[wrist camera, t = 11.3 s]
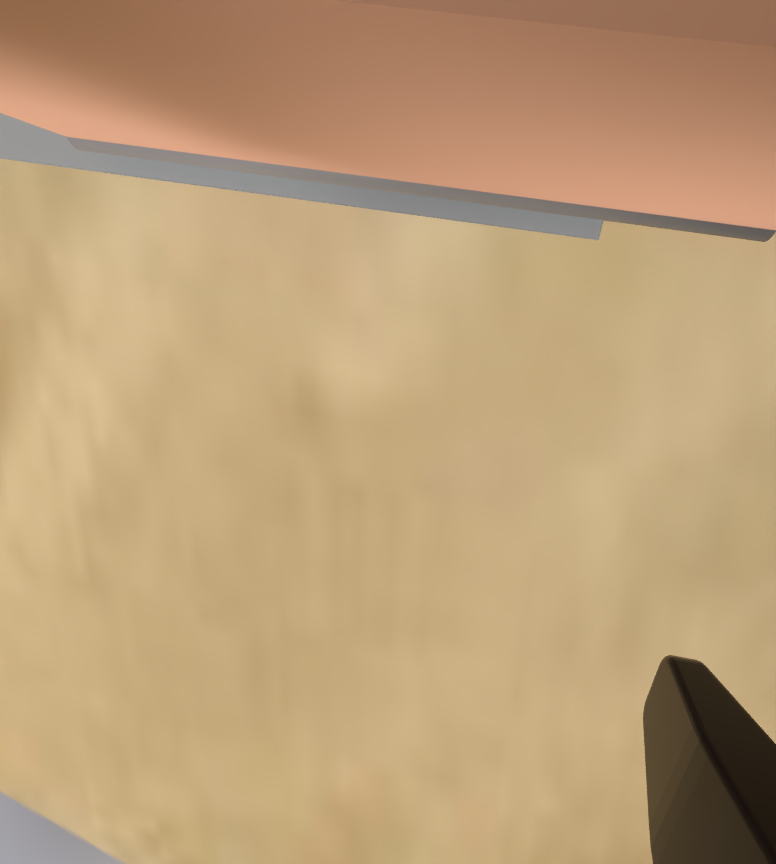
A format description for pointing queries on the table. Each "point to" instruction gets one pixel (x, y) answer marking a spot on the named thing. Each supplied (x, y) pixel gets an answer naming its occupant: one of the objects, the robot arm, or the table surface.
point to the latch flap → (426, 97)
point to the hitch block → (276, 184)
